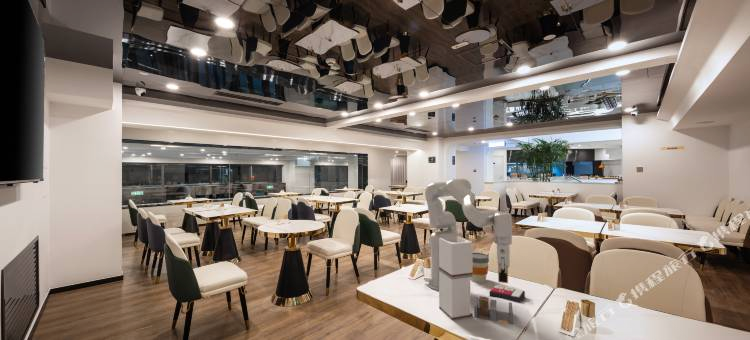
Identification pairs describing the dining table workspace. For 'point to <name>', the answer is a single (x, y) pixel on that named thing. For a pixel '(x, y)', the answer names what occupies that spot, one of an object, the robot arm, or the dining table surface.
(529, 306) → the dining table surface
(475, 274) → the reusable coffee cup
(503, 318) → the grey slotted rack
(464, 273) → the banded white column
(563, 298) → the dining table surface
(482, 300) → the walnut plug
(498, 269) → the tan tall block
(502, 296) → the calculator
